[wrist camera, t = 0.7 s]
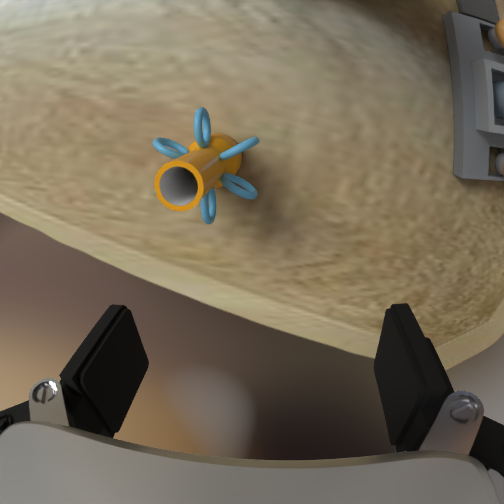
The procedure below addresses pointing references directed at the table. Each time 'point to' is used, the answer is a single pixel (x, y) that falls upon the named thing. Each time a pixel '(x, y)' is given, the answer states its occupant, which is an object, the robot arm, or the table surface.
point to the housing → (473, 96)
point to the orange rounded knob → (500, 163)
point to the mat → (479, 9)
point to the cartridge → (498, 98)
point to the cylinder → (201, 169)
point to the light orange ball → (497, 35)
